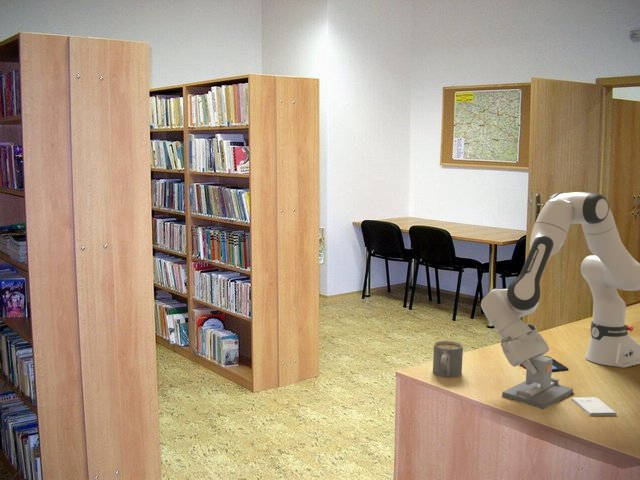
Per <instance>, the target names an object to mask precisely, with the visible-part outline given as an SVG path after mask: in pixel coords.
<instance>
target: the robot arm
mask: <svg viewBox="0 0 640 480" xmlns="http://www.w3.org/2000/svg"><path fill="white" fill-rule="evenodd" d="M578 224H579V225H581V228H582V231H583V234H584V238H585V241H586V244H587V248H588V250H589V251H590V252H591V254H590V255H587V256H586V257H584V259H583V260H582V262H581V265H580V273H581V275H582V277H583V279H584V280H585V281H586V283H587V284H588V286H589V289H590V292H591V295H592V300H593V307H592V308H593V309H592V320H591V322H590V323H591V325H590V337H589V341H588V346H587V349H586V353H585V356H584V358H585V359H586V360H587V361H589V362H591V363H595V364H598V365H603V366H604V365H605V366H611V367H617V368H624V369H625V368H628V367H633V366H637V365H640V343H639V342H638V341H636V340H635V339H634V338H633V337H631V335H629V333H628V331H629V332H633V331H634V329H635V327H634V326H633V325H630V324H627V325H626V314H627V304H626V302H625V300H624V299H623V298H621V296H620V295H619V292H618V290H622V291H628V292H629V291H631V292H633V291H636V292H637V291H640V262H638V261H637V260H636V259H635V258H634V257H633V256H632V255H631V254H630V252H629V251H628V250H627V248H626V246H625V245H624V244H623V242H622V241H623V240H622V239H621V237H620V233H619V230H618V227H617V225H616V220H615V217H614V215H613V212H612V210H611V208H610V205H609V202H608V200H607V198H606V197H605V196H604V195H602V194H601V193H596V192H586V191H585V192H583V191H575V192H573V191H571V192H557V193H554V194H552V195H550V197H549V198H547V201H546V202H545V204H544V205H543V207H542V209H541V210H540V212H539V214H538V216H537V218H536V221H535V222H534V224H533V228H532V229H531V230H532V231H531V234H530V238H529V239H530V240H529V252H528V254H527V257H526V260H525V262H524V265H523V267H522V269H521V271H520V273H519V274H518V276H516V277H515V279H514V280H512V281H511V283H509V286H508V288H502V289H501V288H493V289H491V290H489V291H488V292H487V293H486V294H485V295H484V296H483V298H482V299H481V300H480V301H481V302H480V307H481V309H482V311H483V313H484V315H485V317H486V318H487V320H488V322H490V324H491V325H492V326H493V327H494V329H495V330H496V332H497V334H498V335H499V337H500V339H501V340H500V346H501V348H502V349H501V350H502V353H503V354H504V356H505V358H506V359H507V361H508V363H509V364H510V366H512V367H514V368H515V367H517V366H518V367H519V366H521V365H520V364H523V365H524V367H526V368H527V369H528V370H530V371H531V373H532V374H536V373H537V372H538V369H537V368H536V367H534V366H533V365H532V364H531V362H530V360H529V359H530V358H533V357H535V356H537V355H541V356H544V355H545V354H547V353H548V352H549V351H550V347H549V344H548V343H547V342H546V340H545V339H544V337H543V335H542V334H541V333H540V332H539V331H538V328H537V326H536V325H535V324H531V323H527V322H524V321H523V320H522V318H524V317H525V316H529V315H531V314H533V313H534V312H535V311H536V309H538V306H539V301H540V298H541V287H540V283H541V278H542V275H543V273H544V271H545V268H546V266H547V263H548V261H549V260H550V258H551V257H552V256H554V255H556V254H558V253H559V251H560V250H561V248H562V247H563V245H564V243H565V241H566V239H567V236H568V233H569V230H570V226H571V225H578ZM636 364H637V365H636ZM632 365H633V366H632ZM524 367H523V368H524ZM526 368H525V369H526ZM527 369H526V370H527Z"/></svg>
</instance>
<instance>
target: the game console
mask: <svg viewBox="0 0 640 480" xmlns="http://www.w3.org/2000/svg"><path fill="white" fill-rule="evenodd" d="M543 356H544V357H548V358H552V357H551V356H547V355H543ZM552 359H553V360H552V373H557V372H558V373H559V372H567V371H569V367H567V366H565V365H564V364H562V363H561V362H559V361H557V359H555V358H552ZM519 366H521V367H523V368H525V369H526V370H527V368H526V367H524V365H523V364H520V365H519Z"/></svg>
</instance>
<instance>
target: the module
mask: <svg viewBox="0 0 640 480" xmlns="http://www.w3.org/2000/svg"><path fill="white" fill-rule="evenodd" d="M544 356H545V355H543V356H541V355H537V356H535V357H533V358H530V359H529V360H530V362H531V364H532V365H533V366H534V367H536V368H537V369H538V372H537V373H536V374H532V373H531V371H530V370H528V369H526V375H525V381H526V385H530V384H532V383H534V382H535V383H539V384H540V389H545V388H547V387H549V386H551V378H552V373H553V372H552V360H553V359H554V358H553V359H552V357H551V358H548V357H549V356H548V357H544Z"/></svg>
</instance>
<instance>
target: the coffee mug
mask: <svg viewBox="0 0 640 480" xmlns="http://www.w3.org/2000/svg"><path fill="white" fill-rule="evenodd" d="M463 350H464V345H463V344H461V343H460V342H456V341H453V340H439V341H436V342H434V344H433V360H432V373H433V374H434V375H435V376H439V377H442V378H458V377H460V376H462V373H463V369H462V368H463V355H464V354H463V353H464V351H463Z"/></svg>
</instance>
